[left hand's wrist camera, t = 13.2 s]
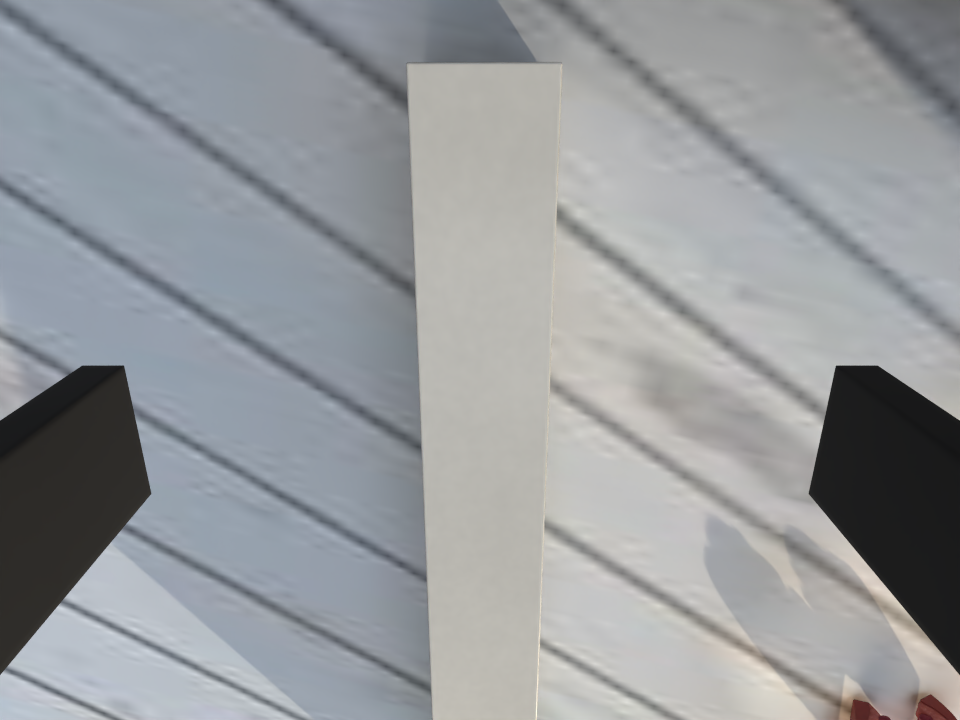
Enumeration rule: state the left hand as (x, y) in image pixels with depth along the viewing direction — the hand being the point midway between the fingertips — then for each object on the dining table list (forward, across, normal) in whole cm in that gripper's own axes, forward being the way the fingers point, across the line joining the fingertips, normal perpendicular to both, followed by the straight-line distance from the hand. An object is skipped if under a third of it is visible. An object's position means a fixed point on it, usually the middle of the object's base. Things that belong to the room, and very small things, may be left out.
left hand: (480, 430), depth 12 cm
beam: (+24, 0, -21) cm, 32 cm away
